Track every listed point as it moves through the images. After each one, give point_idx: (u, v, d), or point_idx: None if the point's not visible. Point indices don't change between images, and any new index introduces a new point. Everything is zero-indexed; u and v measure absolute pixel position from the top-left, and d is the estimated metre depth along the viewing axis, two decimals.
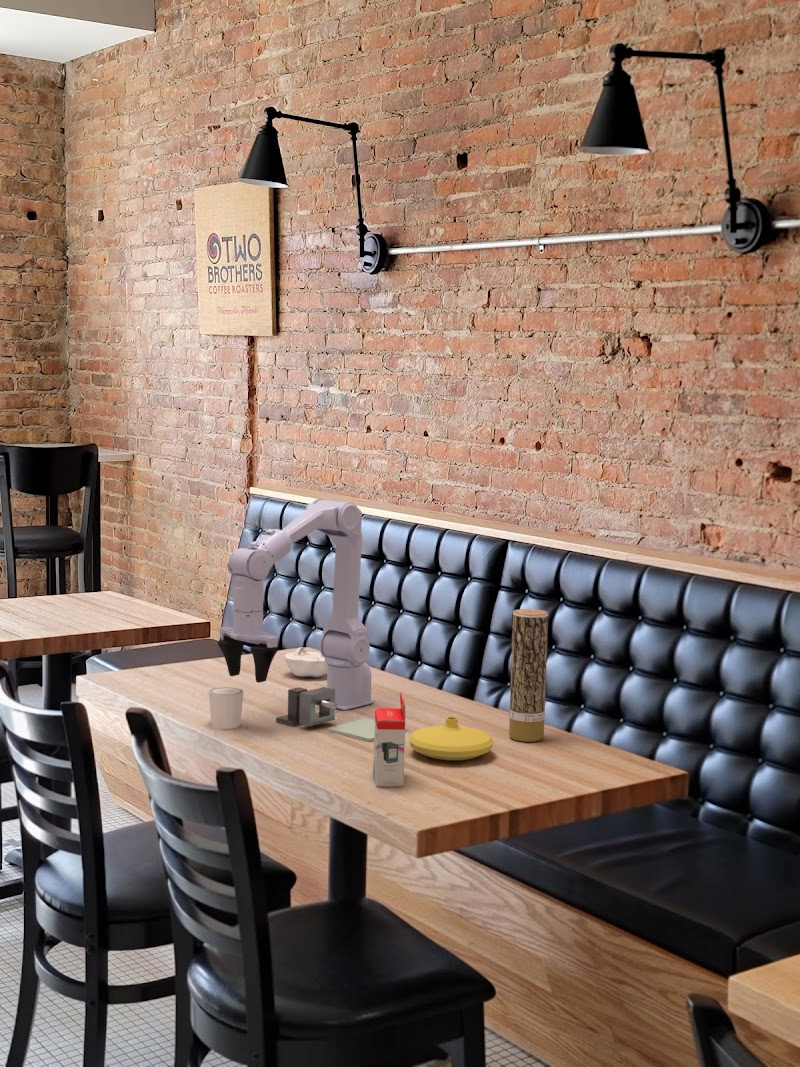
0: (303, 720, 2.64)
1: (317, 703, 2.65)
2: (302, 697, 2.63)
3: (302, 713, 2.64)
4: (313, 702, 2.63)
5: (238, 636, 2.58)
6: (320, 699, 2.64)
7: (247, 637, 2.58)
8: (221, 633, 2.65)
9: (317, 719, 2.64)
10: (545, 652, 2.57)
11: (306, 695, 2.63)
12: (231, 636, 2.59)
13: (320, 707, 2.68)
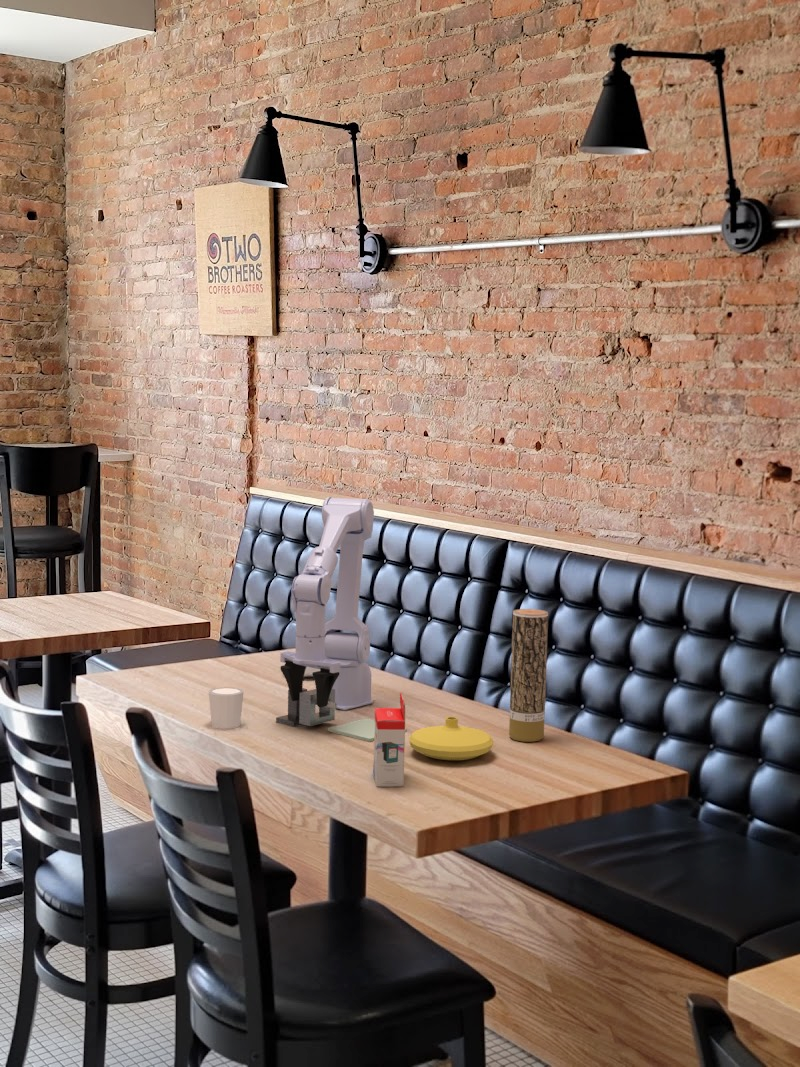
0: (303, 720, 2.64)
1: None
2: (302, 697, 2.63)
3: (302, 713, 2.64)
4: (313, 702, 2.63)
5: (301, 661, 2.60)
6: None
7: (309, 662, 2.60)
8: (282, 658, 2.66)
9: (317, 719, 2.64)
10: (545, 652, 2.57)
11: (306, 695, 2.63)
12: (294, 661, 2.60)
13: (320, 707, 2.68)
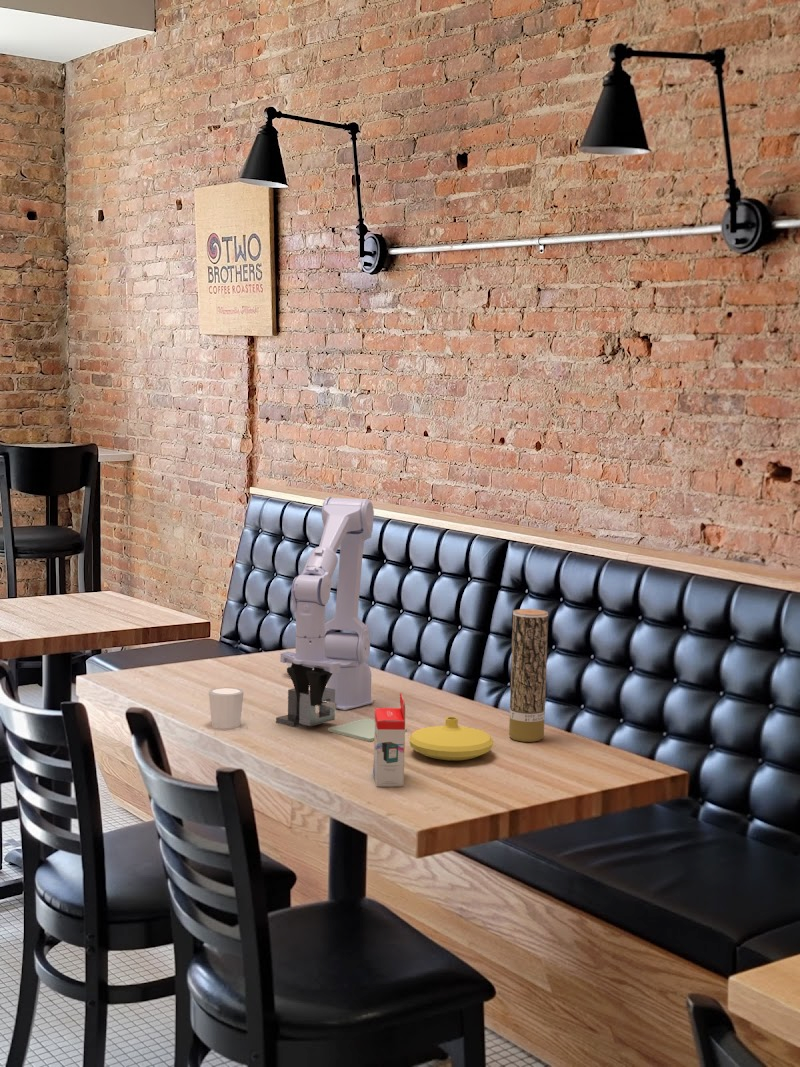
0: (303, 720, 2.64)
1: None
2: (302, 697, 2.63)
3: (302, 713, 2.64)
4: None
5: (301, 662, 2.60)
6: None
7: (309, 662, 2.60)
8: (282, 658, 2.67)
9: (317, 719, 2.64)
10: (545, 652, 2.57)
11: (306, 695, 2.63)
12: (294, 662, 2.60)
13: (320, 707, 2.68)
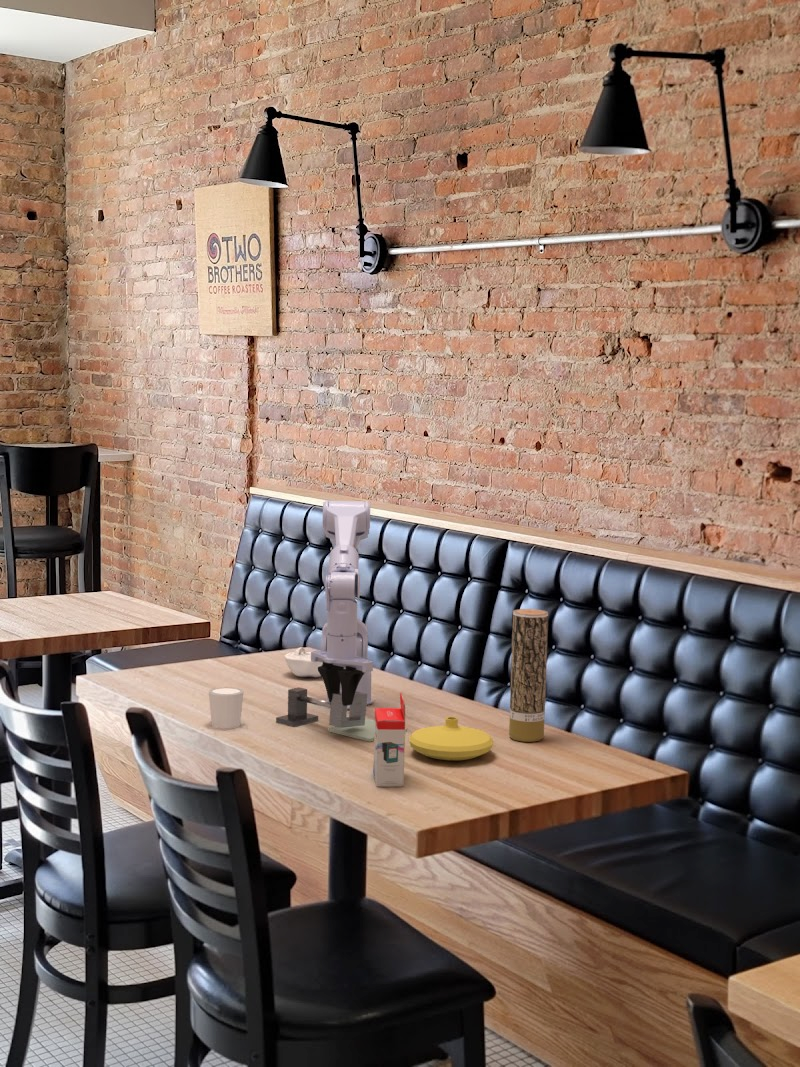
0: (333, 721, 2.58)
1: (317, 703, 2.65)
2: (334, 698, 2.58)
3: (333, 714, 2.58)
4: None
5: (332, 661, 2.54)
6: None
7: (341, 661, 2.54)
8: (313, 657, 2.61)
9: (348, 722, 2.58)
10: (545, 652, 2.57)
11: (338, 696, 2.57)
12: (325, 660, 2.55)
13: (351, 711, 2.63)
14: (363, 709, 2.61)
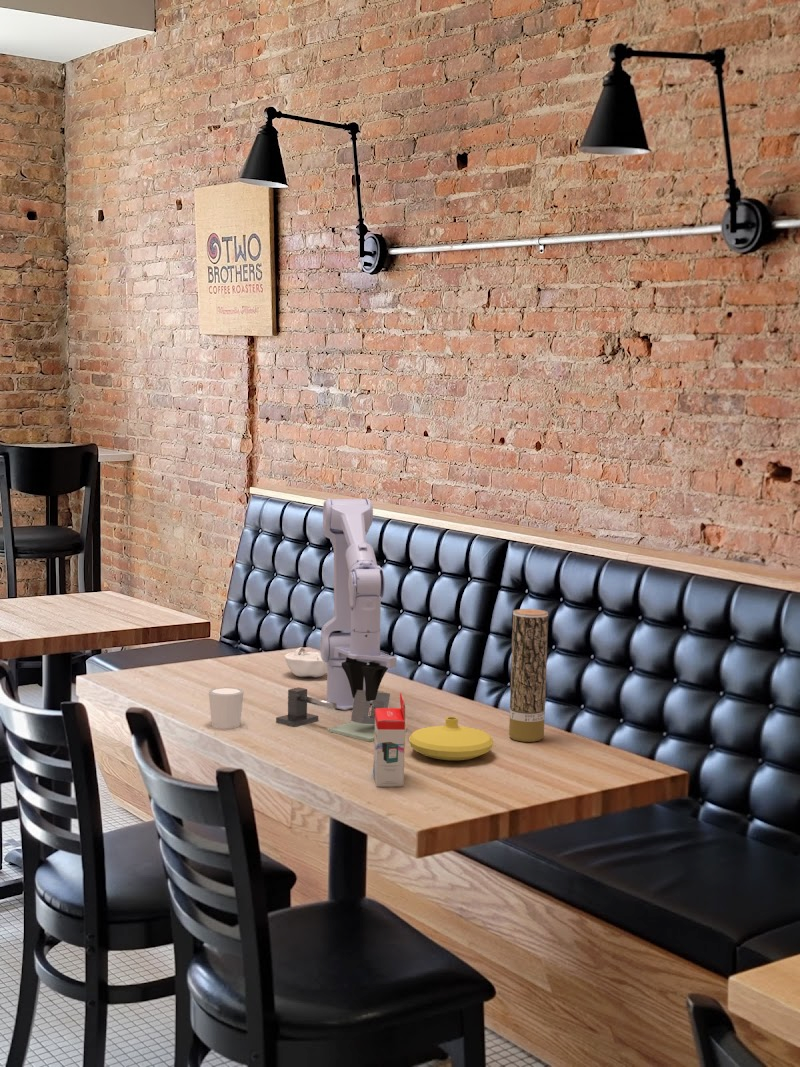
0: (355, 717, 2.60)
1: (317, 703, 2.65)
2: (357, 694, 2.61)
3: (355, 710, 2.61)
4: None
5: (356, 656, 2.57)
6: None
7: (365, 657, 2.57)
8: (336, 653, 2.64)
9: (370, 719, 2.61)
10: (545, 652, 2.57)
11: (362, 692, 2.60)
12: (349, 656, 2.57)
13: (372, 710, 2.65)
14: None
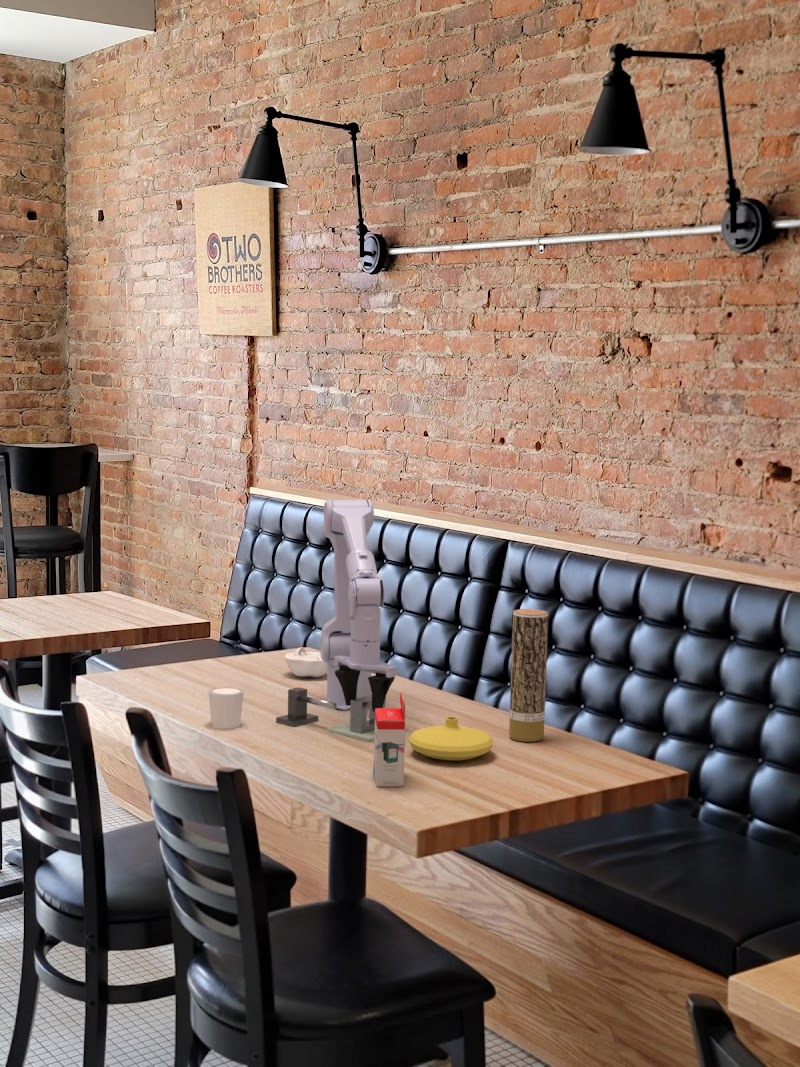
0: (354, 728, 2.60)
1: (317, 703, 2.65)
2: (353, 704, 2.60)
3: (353, 721, 2.60)
4: (364, 710, 2.59)
5: (356, 666, 2.57)
6: (371, 706, 2.61)
7: (365, 667, 2.57)
8: (336, 662, 2.64)
9: (369, 727, 2.61)
10: (545, 652, 2.57)
11: (357, 702, 2.59)
12: (349, 666, 2.58)
13: (370, 714, 2.65)
14: None
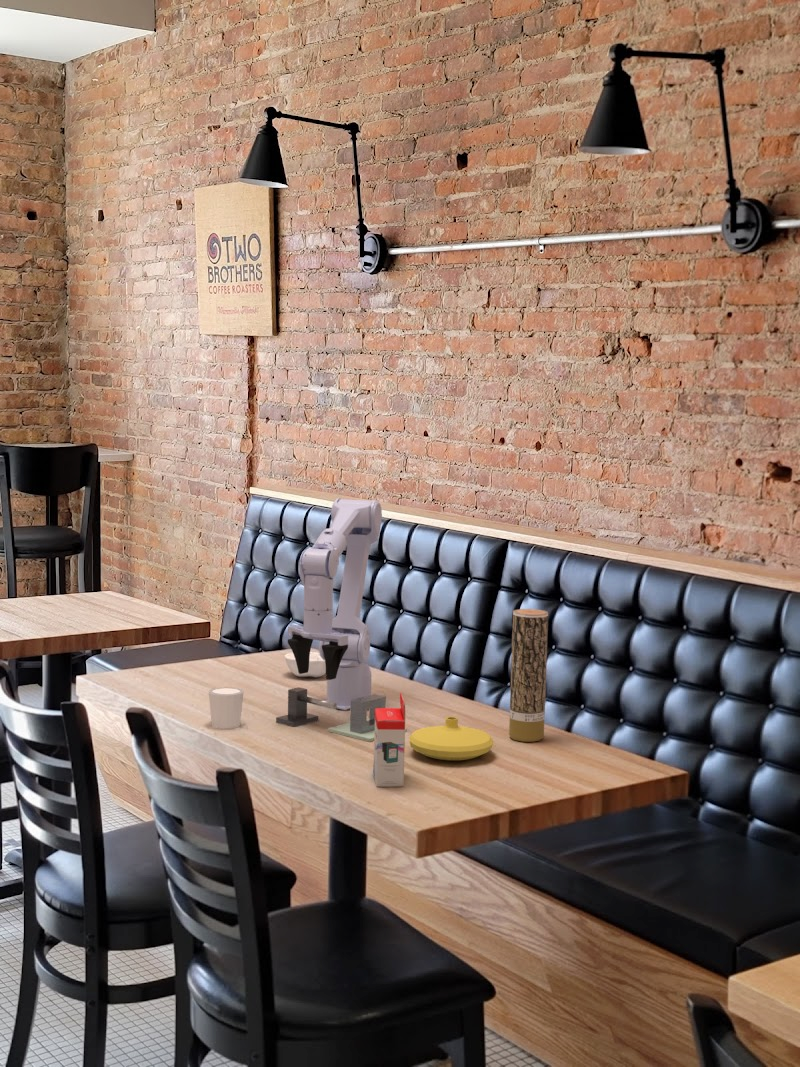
0: (354, 728, 2.60)
1: (317, 703, 2.65)
2: (353, 704, 2.60)
3: (353, 721, 2.60)
4: (364, 710, 2.59)
5: (309, 634, 2.63)
6: (371, 706, 2.61)
7: (317, 635, 2.63)
8: (290, 631, 2.69)
9: (369, 727, 2.61)
10: (545, 652, 2.57)
11: (357, 702, 2.59)
12: (302, 634, 2.63)
13: (370, 714, 2.65)
14: None
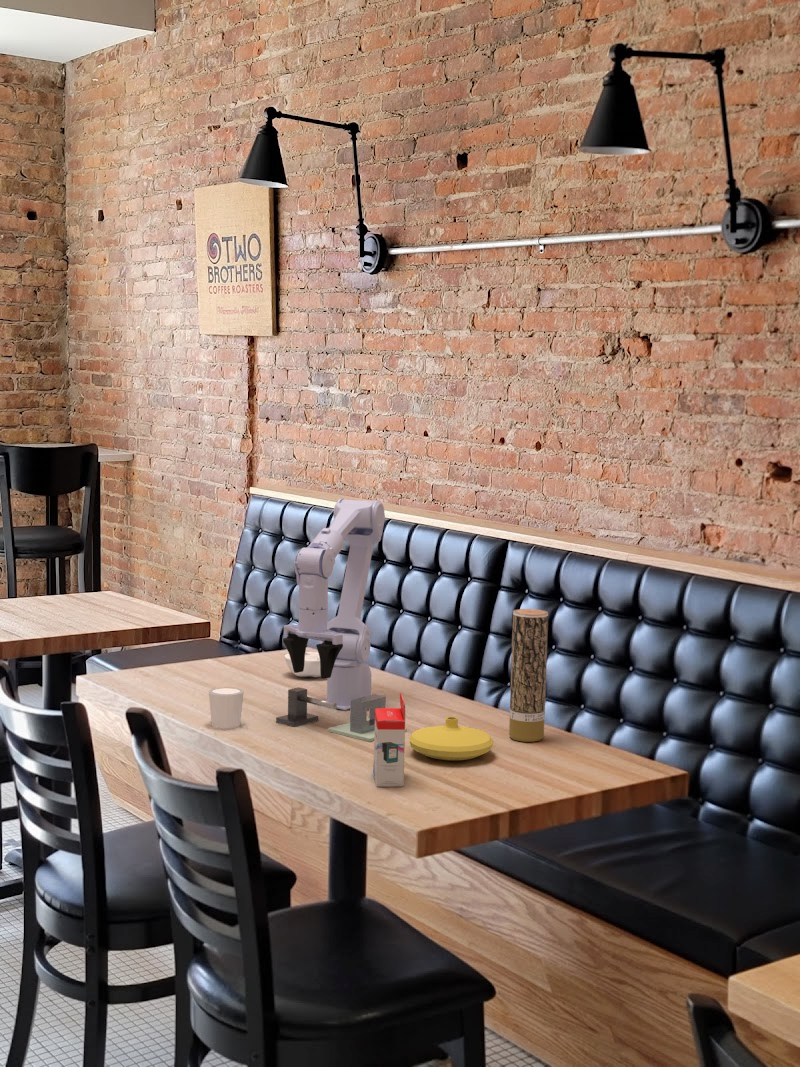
0: (354, 728, 2.60)
1: (317, 703, 2.65)
2: (353, 704, 2.60)
3: (353, 721, 2.60)
4: (364, 710, 2.59)
5: (304, 633, 2.63)
6: (371, 706, 2.61)
7: (312, 634, 2.63)
8: (285, 630, 2.70)
9: (369, 727, 2.61)
10: (545, 652, 2.57)
11: (357, 702, 2.59)
12: (297, 633, 2.64)
13: (370, 714, 2.65)
14: None
